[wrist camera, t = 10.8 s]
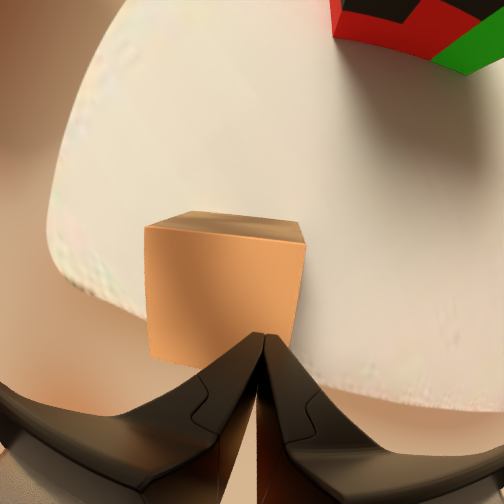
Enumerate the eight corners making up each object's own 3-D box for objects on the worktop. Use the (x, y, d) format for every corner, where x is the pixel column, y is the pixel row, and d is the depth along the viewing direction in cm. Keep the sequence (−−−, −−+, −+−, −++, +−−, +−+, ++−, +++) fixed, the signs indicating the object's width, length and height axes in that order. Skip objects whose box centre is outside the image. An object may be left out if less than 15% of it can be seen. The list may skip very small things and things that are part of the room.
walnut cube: (144, 226, 10) (192, 210, 16) (150, 357, 11) (189, 305, 17) (306, 245, 9) (297, 221, 15) (282, 381, 11) (283, 318, 17)
